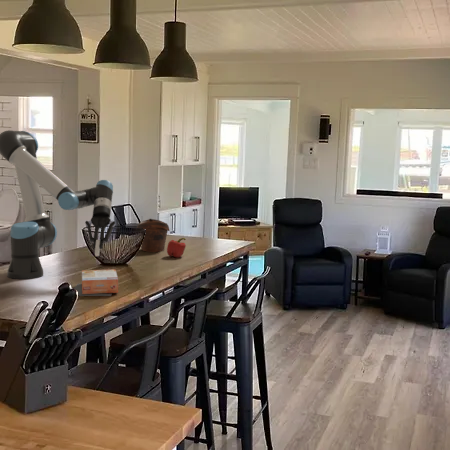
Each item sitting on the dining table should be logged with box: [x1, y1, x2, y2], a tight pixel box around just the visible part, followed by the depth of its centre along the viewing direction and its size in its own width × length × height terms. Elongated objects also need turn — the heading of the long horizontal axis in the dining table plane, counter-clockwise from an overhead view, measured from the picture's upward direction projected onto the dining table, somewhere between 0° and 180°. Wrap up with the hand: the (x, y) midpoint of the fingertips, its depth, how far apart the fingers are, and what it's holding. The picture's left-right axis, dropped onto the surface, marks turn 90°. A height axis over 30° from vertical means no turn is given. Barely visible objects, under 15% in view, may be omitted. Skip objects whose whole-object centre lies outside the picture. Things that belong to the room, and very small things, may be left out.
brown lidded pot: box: [136, 218, 170, 253], centre depth 355 cm, size 18×20×18 cm
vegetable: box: [166, 237, 187, 259], centre depth 334 cm, size 11×10×10 cm
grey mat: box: [73, 283, 113, 297], centre depth 253 cm, size 16×20×1 cm
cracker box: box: [81, 268, 119, 294], centre depth 253 cm, size 14×6×21 cm
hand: (96, 254), depth 260 cm, fingers closed
